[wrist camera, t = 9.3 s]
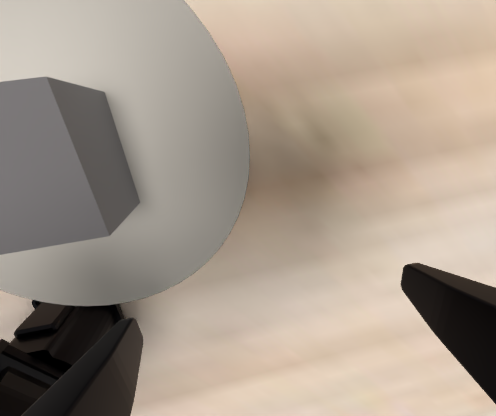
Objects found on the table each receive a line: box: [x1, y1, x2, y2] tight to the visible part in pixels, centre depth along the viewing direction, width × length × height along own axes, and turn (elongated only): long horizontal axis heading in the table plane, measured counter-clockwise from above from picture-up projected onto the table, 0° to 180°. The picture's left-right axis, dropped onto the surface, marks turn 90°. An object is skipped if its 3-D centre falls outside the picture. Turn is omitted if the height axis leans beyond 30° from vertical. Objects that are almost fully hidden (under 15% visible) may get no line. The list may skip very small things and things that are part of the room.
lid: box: [0, 0, 250, 306], centre depth 7 cm, size 12×12×3 cm
